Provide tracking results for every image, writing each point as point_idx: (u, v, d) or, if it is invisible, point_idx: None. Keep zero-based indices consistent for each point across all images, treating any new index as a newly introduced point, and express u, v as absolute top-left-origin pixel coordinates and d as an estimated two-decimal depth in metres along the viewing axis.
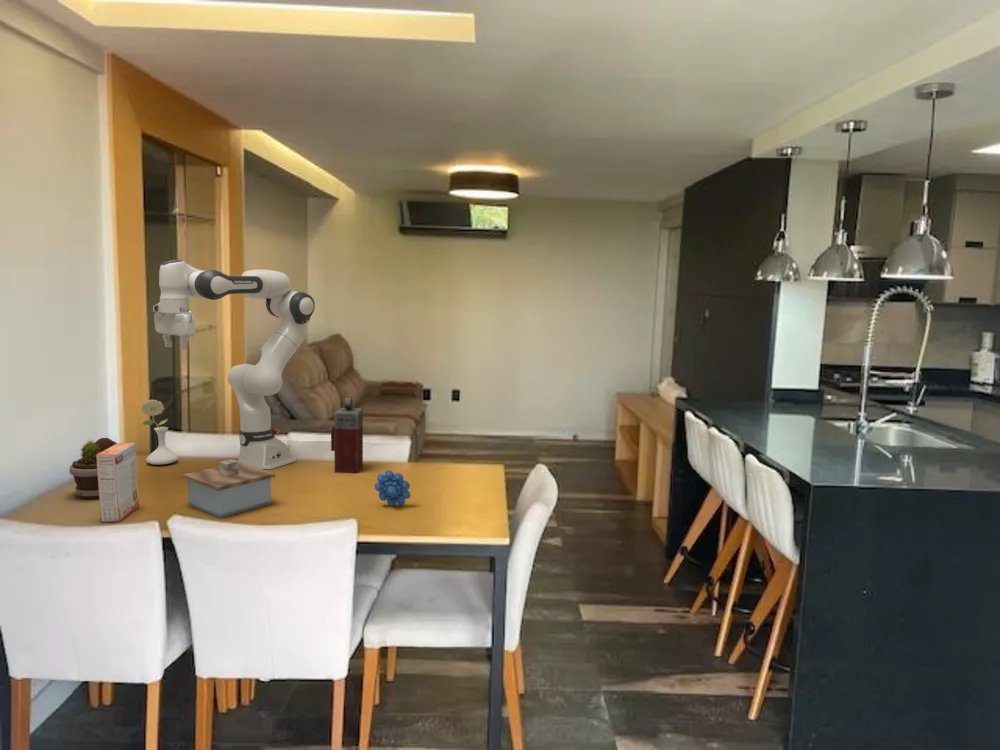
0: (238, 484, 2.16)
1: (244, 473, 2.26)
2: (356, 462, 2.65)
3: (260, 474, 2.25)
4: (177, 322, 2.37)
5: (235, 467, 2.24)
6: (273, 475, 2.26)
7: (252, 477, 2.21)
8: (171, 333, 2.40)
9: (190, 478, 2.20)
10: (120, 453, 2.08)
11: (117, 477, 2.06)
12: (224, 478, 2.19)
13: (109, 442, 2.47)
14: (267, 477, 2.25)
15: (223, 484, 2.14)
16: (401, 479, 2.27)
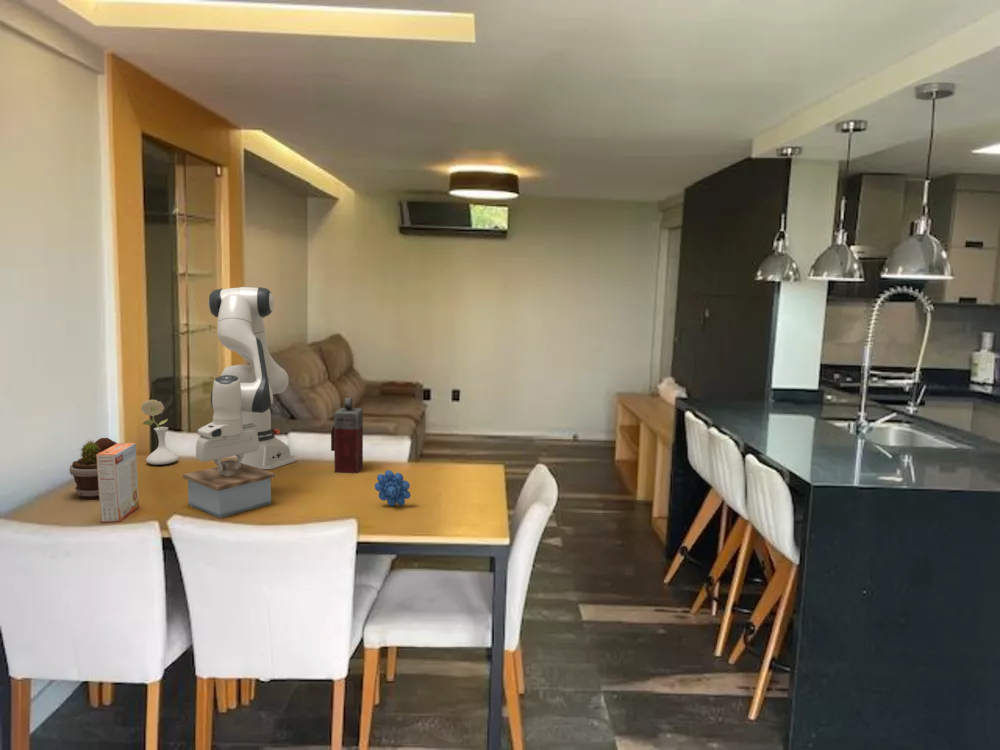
0: (238, 484, 2.16)
1: (244, 473, 2.26)
2: (356, 462, 2.65)
3: (260, 474, 2.25)
4: (243, 440, 2.26)
5: (235, 467, 2.24)
6: (273, 475, 2.26)
7: (252, 477, 2.21)
8: (233, 454, 2.23)
9: (190, 478, 2.20)
10: (120, 453, 2.08)
11: (117, 477, 2.06)
12: (224, 478, 2.19)
13: (109, 442, 2.47)
14: (267, 477, 2.25)
15: (223, 484, 2.14)
16: (401, 479, 2.27)
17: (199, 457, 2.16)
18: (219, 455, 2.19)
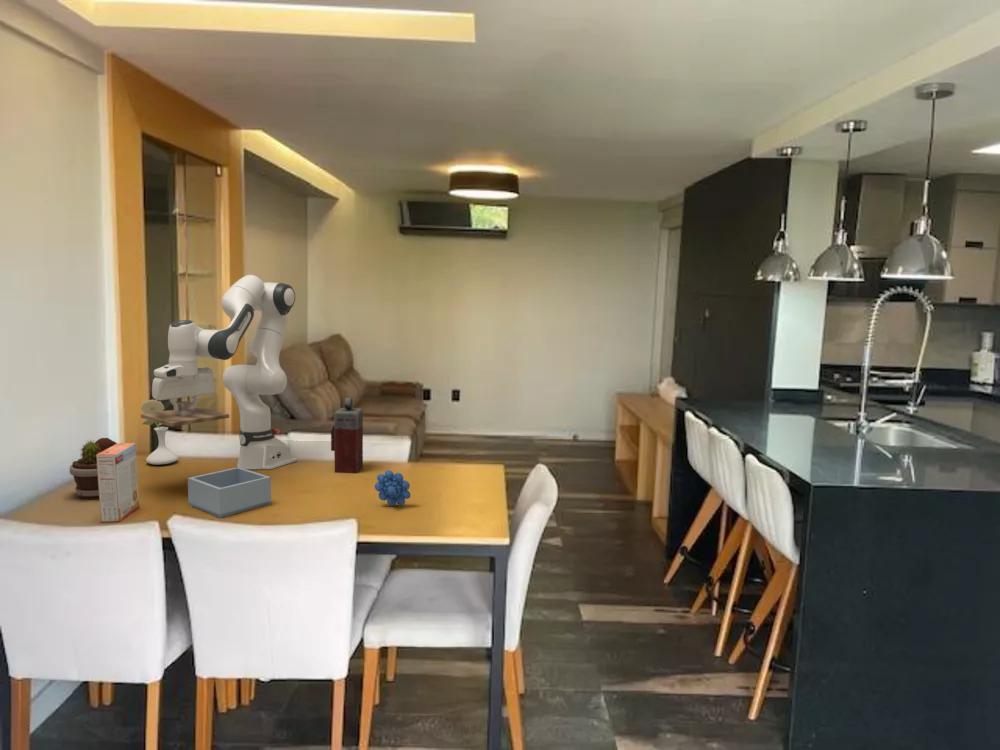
0: (192, 422, 2.28)
1: (200, 413, 2.37)
2: (356, 462, 2.65)
3: (214, 415, 2.36)
4: (198, 382, 2.37)
5: (191, 407, 2.36)
6: (227, 416, 2.38)
7: (206, 417, 2.33)
8: (189, 395, 2.35)
9: (147, 417, 2.32)
10: (120, 453, 2.08)
11: (117, 477, 2.06)
12: (179, 417, 2.31)
13: (109, 442, 2.47)
14: (221, 417, 2.36)
15: (177, 421, 2.25)
16: (401, 479, 2.27)
17: (155, 396, 2.27)
18: (174, 395, 2.31)
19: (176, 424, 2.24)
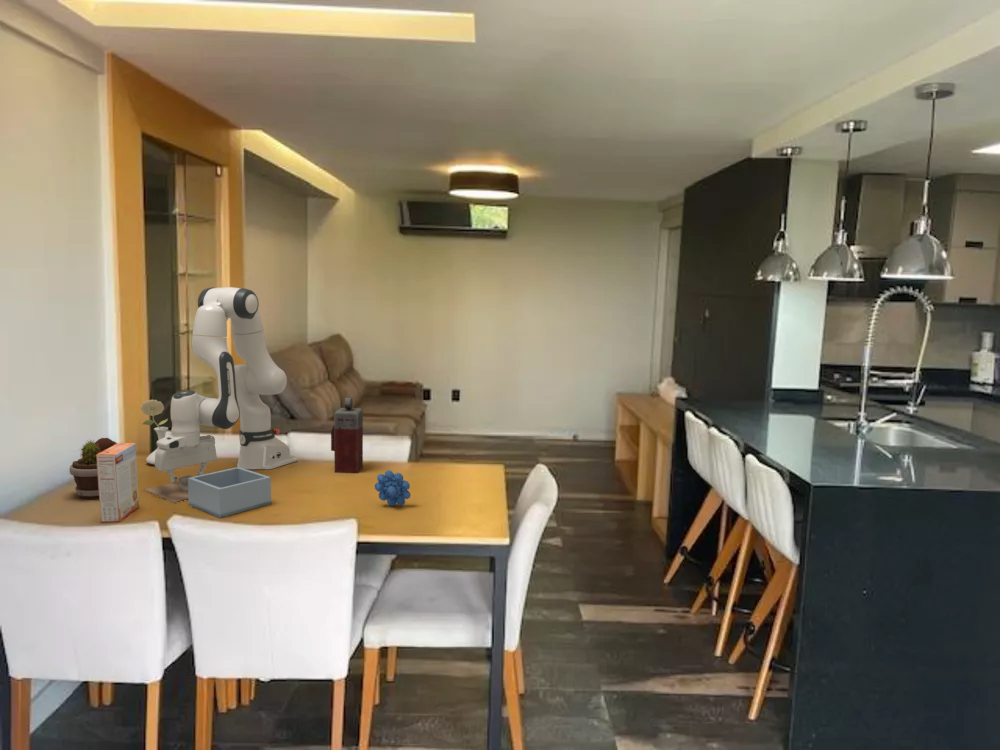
0: None
1: None
2: (356, 462, 2.65)
3: None
4: (201, 450, 2.41)
5: None
6: None
7: None
8: (191, 464, 2.38)
9: None
10: (120, 453, 2.08)
11: (117, 477, 2.06)
12: (182, 493, 2.34)
13: (109, 442, 2.47)
14: None
15: (180, 499, 2.29)
16: (401, 479, 2.27)
17: (157, 467, 2.30)
18: (177, 465, 2.34)
19: None
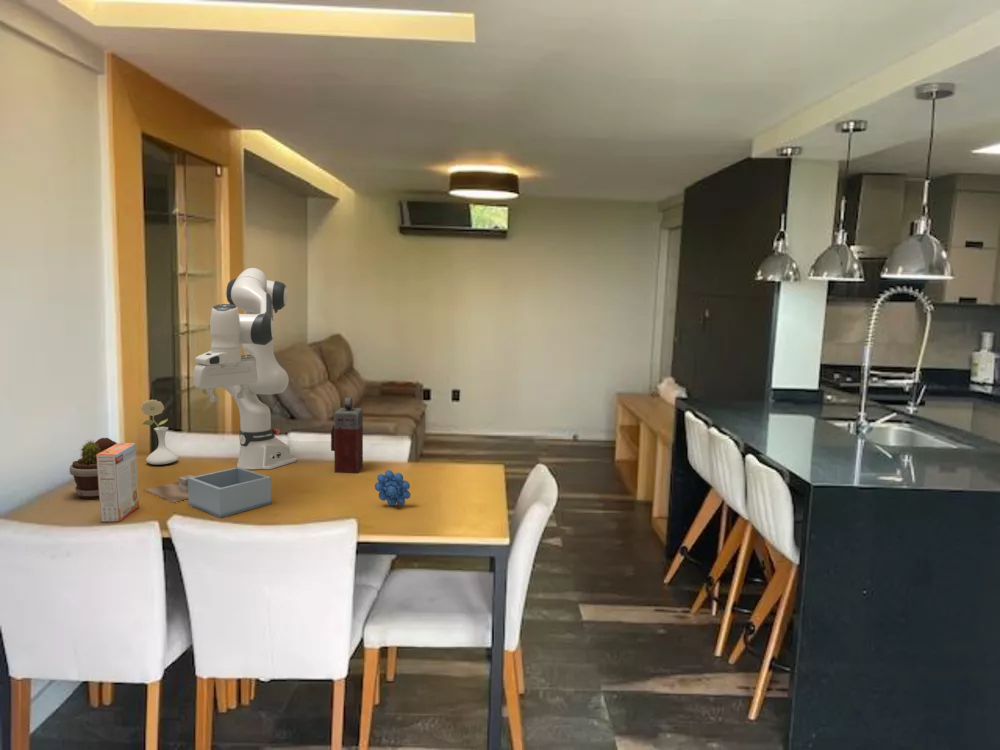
0: None
1: None
2: (356, 462, 2.65)
3: None
4: (241, 370, 2.23)
5: None
6: None
7: None
8: (232, 384, 2.20)
9: None
10: (120, 453, 2.08)
11: (117, 477, 2.06)
12: (182, 493, 2.34)
13: (109, 442, 2.47)
14: None
15: (180, 499, 2.29)
16: (401, 479, 2.27)
17: (197, 384, 2.13)
18: (217, 384, 2.16)
19: None
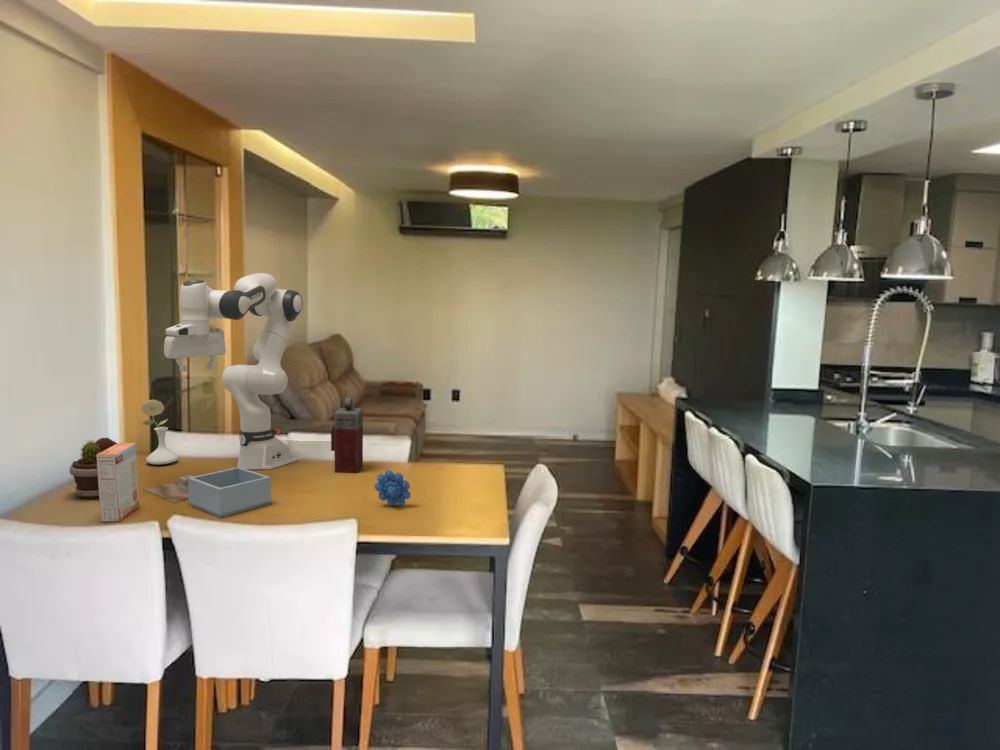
0: None
1: None
2: (356, 462, 2.65)
3: None
4: (210, 342, 2.38)
5: None
6: None
7: None
8: (200, 355, 2.35)
9: None
10: (120, 453, 2.08)
11: (117, 477, 2.06)
12: (182, 493, 2.34)
13: (109, 442, 2.47)
14: None
15: (180, 499, 2.29)
16: (401, 479, 2.27)
17: (167, 354, 2.28)
18: (186, 354, 2.31)
19: None
